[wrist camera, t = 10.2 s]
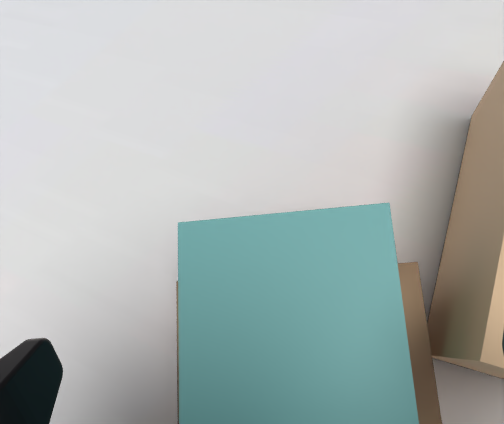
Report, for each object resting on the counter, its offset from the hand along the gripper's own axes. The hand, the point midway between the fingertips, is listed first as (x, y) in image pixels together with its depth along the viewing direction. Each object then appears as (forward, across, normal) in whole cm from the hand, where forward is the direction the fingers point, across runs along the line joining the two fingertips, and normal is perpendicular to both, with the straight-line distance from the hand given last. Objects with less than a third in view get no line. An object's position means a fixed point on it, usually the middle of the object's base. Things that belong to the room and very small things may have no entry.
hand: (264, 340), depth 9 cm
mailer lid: (+4, 0, +8) cm, 8 cm away
